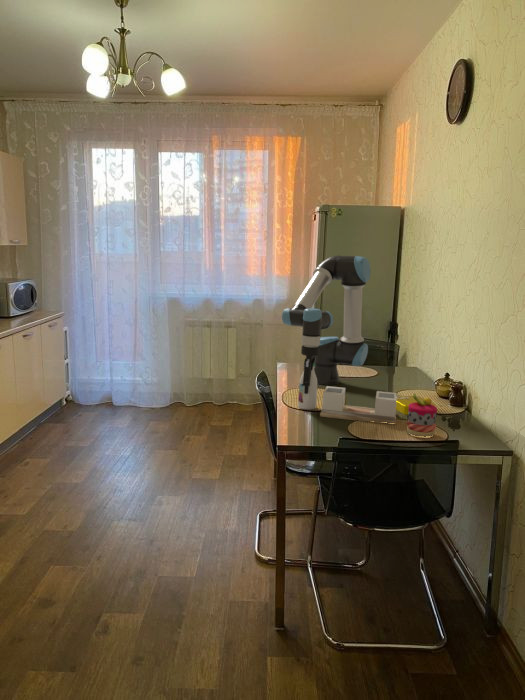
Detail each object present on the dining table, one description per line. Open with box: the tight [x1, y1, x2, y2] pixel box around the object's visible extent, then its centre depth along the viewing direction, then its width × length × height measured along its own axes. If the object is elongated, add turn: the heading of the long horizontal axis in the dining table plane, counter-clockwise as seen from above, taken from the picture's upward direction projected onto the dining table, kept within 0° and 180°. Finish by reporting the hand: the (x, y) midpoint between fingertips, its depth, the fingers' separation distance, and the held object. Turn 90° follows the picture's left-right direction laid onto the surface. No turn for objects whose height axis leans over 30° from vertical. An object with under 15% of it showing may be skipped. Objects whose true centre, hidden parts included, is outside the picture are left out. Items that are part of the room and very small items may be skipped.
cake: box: [405, 393, 438, 437], centre depth 198 cm, size 10×11×15 cm
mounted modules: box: [321, 385, 397, 417], centre depth 218 cm, size 12×29×8 cm, turn 76°
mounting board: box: [319, 404, 397, 424], centre depth 219 cm, size 15×30×3 cm, turn 76°
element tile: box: [396, 395, 436, 416], centre depth 231 cm, size 15×15×5 cm
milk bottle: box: [297, 362, 318, 411], centre depth 225 cm, size 8×8×20 cm
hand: (307, 398), depth 226 cm, fingers closed on milk bottle, 8 cm apart
